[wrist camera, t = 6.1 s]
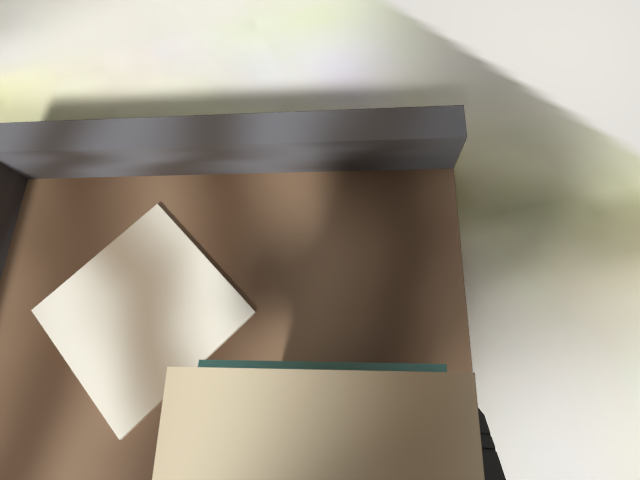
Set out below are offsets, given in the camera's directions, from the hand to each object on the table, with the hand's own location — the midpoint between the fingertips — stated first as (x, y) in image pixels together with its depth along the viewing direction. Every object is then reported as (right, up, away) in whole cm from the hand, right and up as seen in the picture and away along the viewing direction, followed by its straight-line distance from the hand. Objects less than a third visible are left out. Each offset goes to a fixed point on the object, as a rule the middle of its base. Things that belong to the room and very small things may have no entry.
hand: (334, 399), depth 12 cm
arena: (-5, 0, +6) cm, 8 cm away
